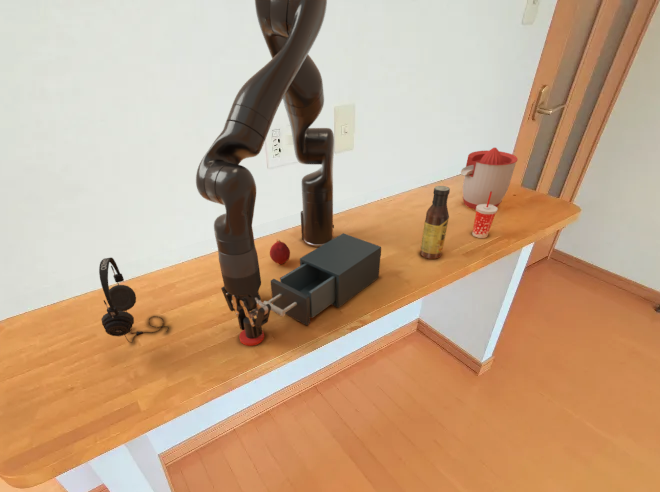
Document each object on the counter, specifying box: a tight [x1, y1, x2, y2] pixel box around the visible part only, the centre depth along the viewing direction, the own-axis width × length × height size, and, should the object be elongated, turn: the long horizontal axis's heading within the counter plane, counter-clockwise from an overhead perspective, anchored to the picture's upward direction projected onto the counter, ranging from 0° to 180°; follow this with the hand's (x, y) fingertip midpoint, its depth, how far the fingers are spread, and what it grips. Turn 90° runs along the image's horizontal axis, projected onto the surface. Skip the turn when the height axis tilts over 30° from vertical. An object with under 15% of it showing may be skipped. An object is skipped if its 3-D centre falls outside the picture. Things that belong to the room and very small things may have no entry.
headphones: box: [98, 256, 170, 344], centre depth 83 cm, size 15×11×20 cm
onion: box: [269, 238, 291, 265], centre depth 110 cm, size 6×6×8 cm
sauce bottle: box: [420, 185, 451, 260], centre depth 107 cm, size 7×6×20 cm
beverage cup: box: [471, 191, 499, 239], centre depth 118 cm, size 6×6×14 cm
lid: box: [239, 317, 265, 347], centre depth 86 cm, size 6×6×5 cm
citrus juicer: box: [460, 147, 519, 211], centre depth 134 cm, size 16×17×20 cm
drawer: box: [262, 263, 336, 326], centre depth 92 cm, size 22×11×8 cm, turn 138°
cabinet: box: [299, 232, 382, 308], centre depth 100 cm, size 18×13×10 cm
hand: (251, 331), depth 86 cm, fingers open, 3 cm apart
